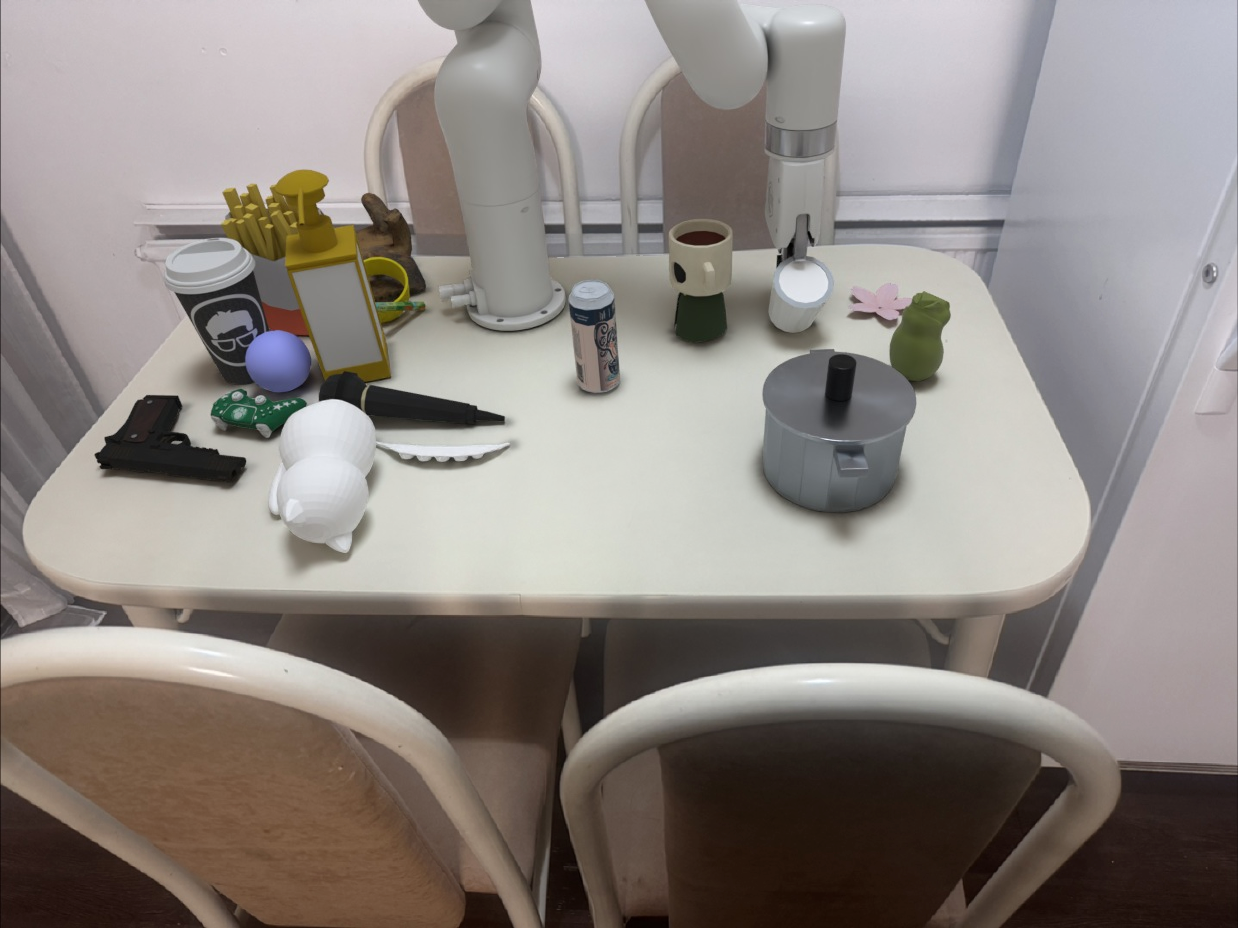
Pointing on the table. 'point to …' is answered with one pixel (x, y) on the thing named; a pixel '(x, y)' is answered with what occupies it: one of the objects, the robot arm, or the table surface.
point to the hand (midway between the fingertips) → (789, 286)
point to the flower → (880, 301)
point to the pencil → (400, 306)
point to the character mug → (700, 277)
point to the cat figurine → (324, 472)
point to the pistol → (163, 445)
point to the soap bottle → (332, 285)
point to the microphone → (399, 402)
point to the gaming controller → (253, 411)
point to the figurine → (388, 248)
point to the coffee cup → (219, 300)
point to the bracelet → (394, 270)
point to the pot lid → (839, 398)
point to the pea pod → (442, 451)
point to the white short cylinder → (799, 293)
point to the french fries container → (267, 251)
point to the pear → (920, 337)
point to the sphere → (278, 361)
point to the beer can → (594, 336)
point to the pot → (829, 468)
